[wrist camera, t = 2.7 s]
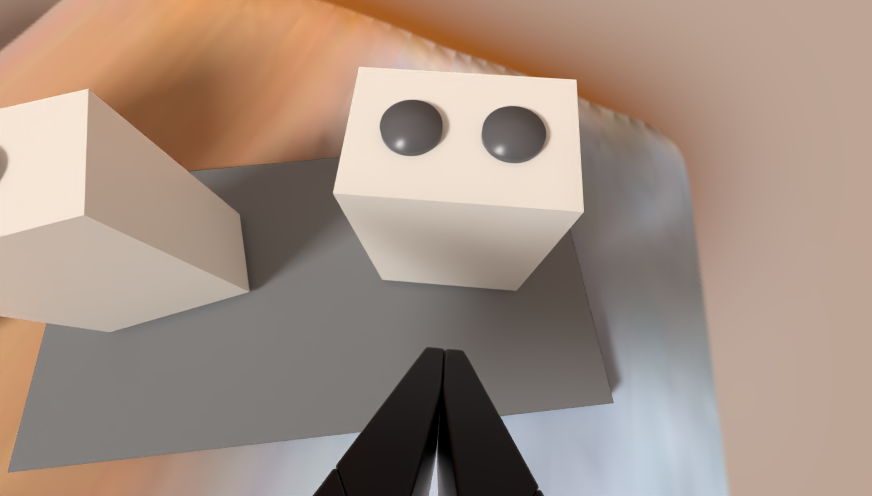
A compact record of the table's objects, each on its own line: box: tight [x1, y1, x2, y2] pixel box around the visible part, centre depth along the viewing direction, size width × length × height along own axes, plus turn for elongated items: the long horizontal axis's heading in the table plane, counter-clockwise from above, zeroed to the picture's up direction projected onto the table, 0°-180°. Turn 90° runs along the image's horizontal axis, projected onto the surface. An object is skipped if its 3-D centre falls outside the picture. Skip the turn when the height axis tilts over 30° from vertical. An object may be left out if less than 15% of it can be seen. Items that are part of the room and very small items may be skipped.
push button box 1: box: [0, 89, 250, 332], centre depth 13 cm, size 4×6×8 cm
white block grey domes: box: [333, 67, 584, 291], centre depth 13 cm, size 4×6×8 cm
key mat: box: [8, 157, 614, 473], centre depth 17 cm, size 24×13×1 cm, turn 96°
